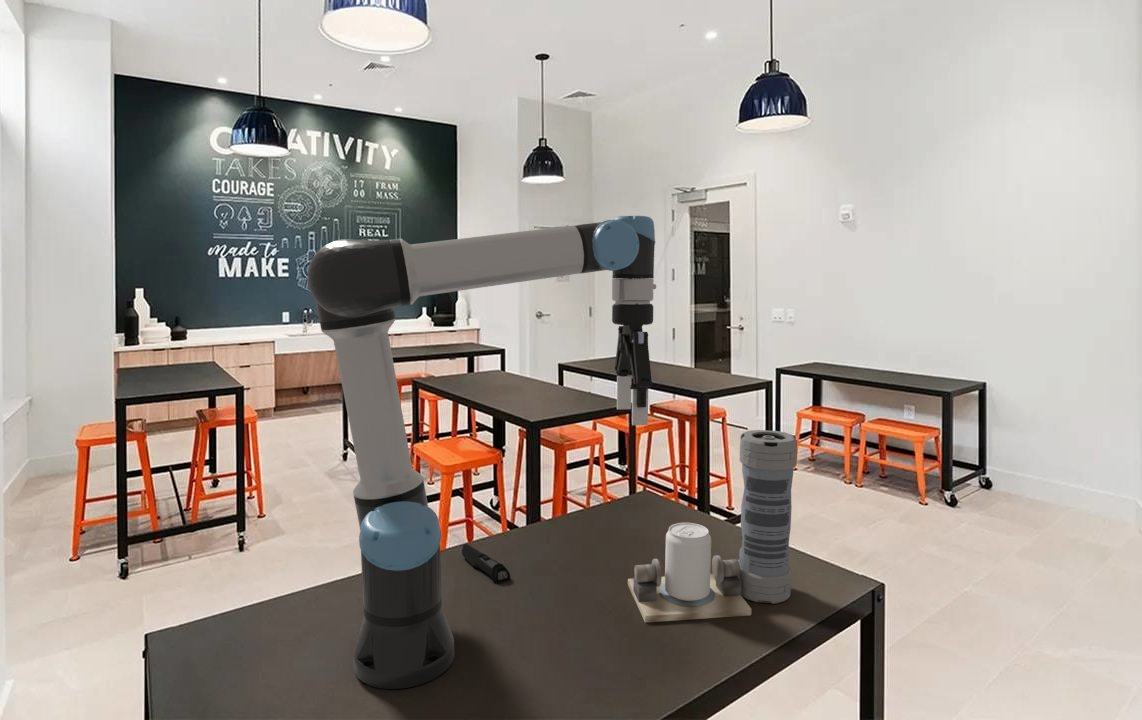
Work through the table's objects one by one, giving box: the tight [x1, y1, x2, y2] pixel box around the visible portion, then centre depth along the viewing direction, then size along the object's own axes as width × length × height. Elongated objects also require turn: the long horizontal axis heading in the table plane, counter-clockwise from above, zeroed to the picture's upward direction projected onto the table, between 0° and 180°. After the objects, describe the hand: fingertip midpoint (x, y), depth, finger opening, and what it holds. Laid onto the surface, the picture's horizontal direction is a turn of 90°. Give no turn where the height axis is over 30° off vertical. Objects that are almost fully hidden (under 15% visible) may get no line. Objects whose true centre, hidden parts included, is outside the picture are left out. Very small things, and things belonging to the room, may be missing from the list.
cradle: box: [627, 554, 752, 624], centre depth 122 cm, size 19×14×8 cm
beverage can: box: [664, 522, 712, 601], centre depth 121 cm, size 8×8×12 cm
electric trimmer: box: [461, 543, 511, 584], centre depth 135 cm, size 4×16×3 cm, turn 37°
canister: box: [737, 429, 798, 605], centre depth 123 cm, size 10×10×30 cm
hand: (631, 416), depth 125 cm, fingers open, 13 cm apart
